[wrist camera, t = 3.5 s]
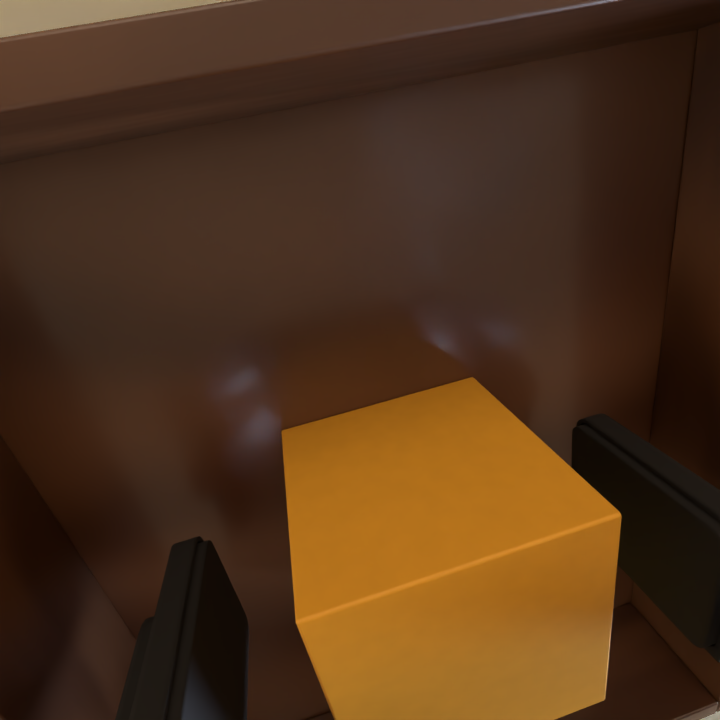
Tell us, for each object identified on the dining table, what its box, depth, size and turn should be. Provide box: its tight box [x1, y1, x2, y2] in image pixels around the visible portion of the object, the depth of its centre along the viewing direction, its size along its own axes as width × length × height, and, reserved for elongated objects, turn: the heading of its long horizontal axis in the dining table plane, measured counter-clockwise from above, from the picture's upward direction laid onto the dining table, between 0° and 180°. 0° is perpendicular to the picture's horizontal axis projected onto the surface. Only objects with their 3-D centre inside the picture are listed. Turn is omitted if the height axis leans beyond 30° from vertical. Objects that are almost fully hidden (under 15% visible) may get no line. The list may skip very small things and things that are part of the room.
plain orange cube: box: [281, 377, 622, 720], centre depth 9 cm, size 5×5×5 cm
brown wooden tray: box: [0, 0, 720, 720], centre depth 10 cm, size 19×17×4 cm
